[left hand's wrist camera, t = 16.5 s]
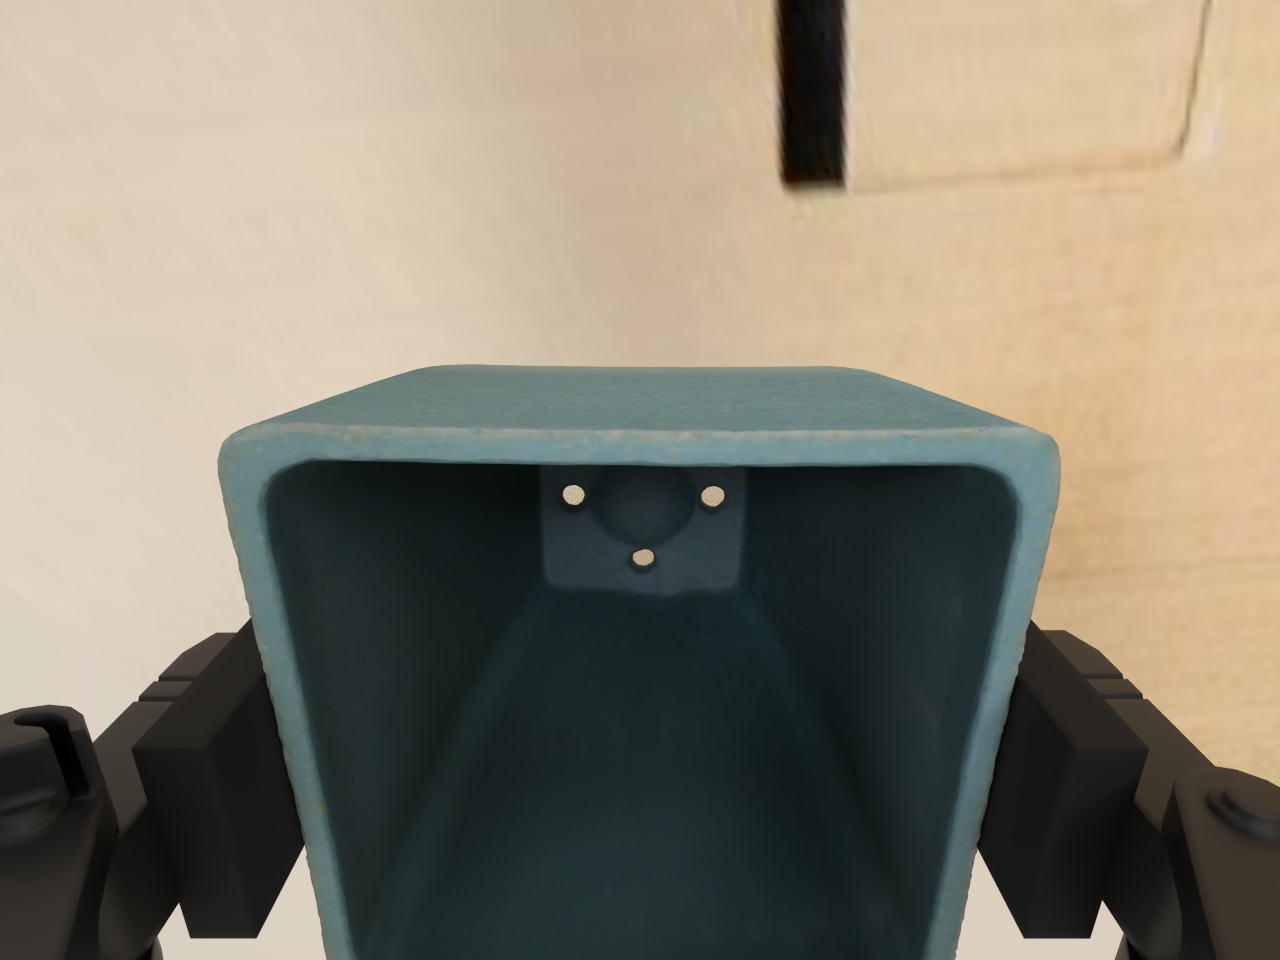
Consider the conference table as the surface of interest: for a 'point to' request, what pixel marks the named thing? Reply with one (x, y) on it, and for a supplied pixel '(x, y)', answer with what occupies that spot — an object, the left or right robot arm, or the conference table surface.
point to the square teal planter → (640, 656)
